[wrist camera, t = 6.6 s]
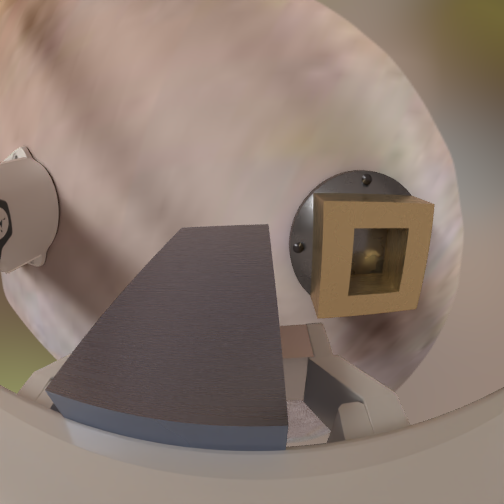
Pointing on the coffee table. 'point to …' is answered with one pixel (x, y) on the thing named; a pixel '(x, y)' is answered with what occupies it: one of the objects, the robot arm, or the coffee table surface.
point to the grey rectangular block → (187, 349)
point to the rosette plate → (361, 245)
